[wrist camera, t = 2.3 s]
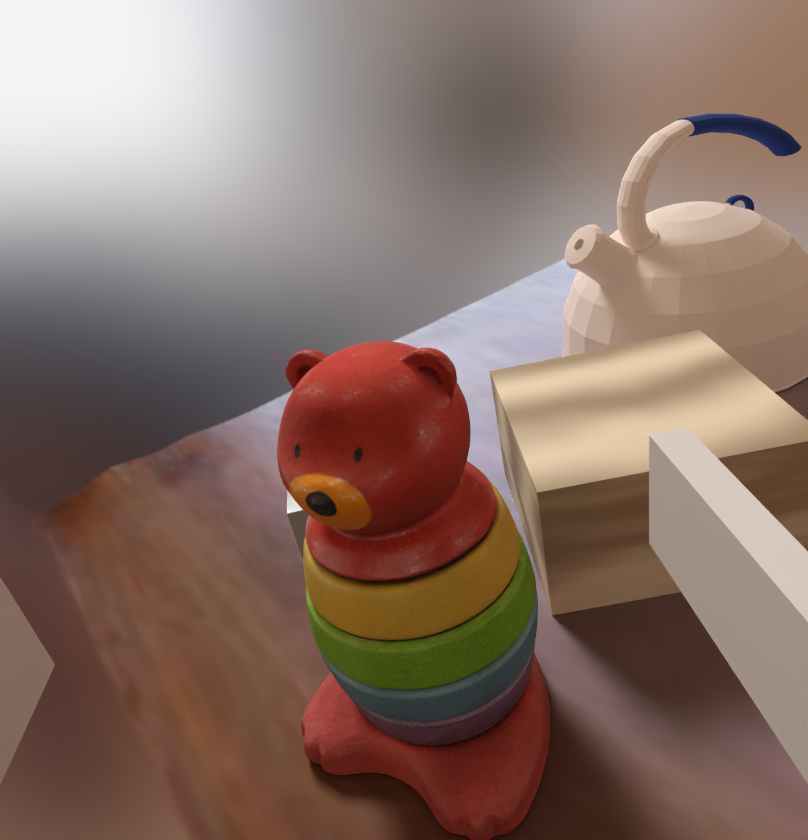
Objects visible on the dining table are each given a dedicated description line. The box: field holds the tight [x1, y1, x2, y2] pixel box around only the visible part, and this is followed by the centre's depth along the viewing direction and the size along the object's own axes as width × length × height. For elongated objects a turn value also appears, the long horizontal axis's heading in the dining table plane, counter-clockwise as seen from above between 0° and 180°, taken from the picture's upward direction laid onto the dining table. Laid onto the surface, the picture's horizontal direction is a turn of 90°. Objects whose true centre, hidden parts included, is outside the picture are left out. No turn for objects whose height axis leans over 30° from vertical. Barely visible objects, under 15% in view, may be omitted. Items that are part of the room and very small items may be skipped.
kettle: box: [562, 114, 808, 393], centre depth 52 cm, size 20×21×18 cm
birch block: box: [490, 330, 808, 615], centre depth 38 cm, size 13×13×8 cm
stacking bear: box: [277, 341, 550, 840], centre depth 26 cm, size 11×10×18 cm
